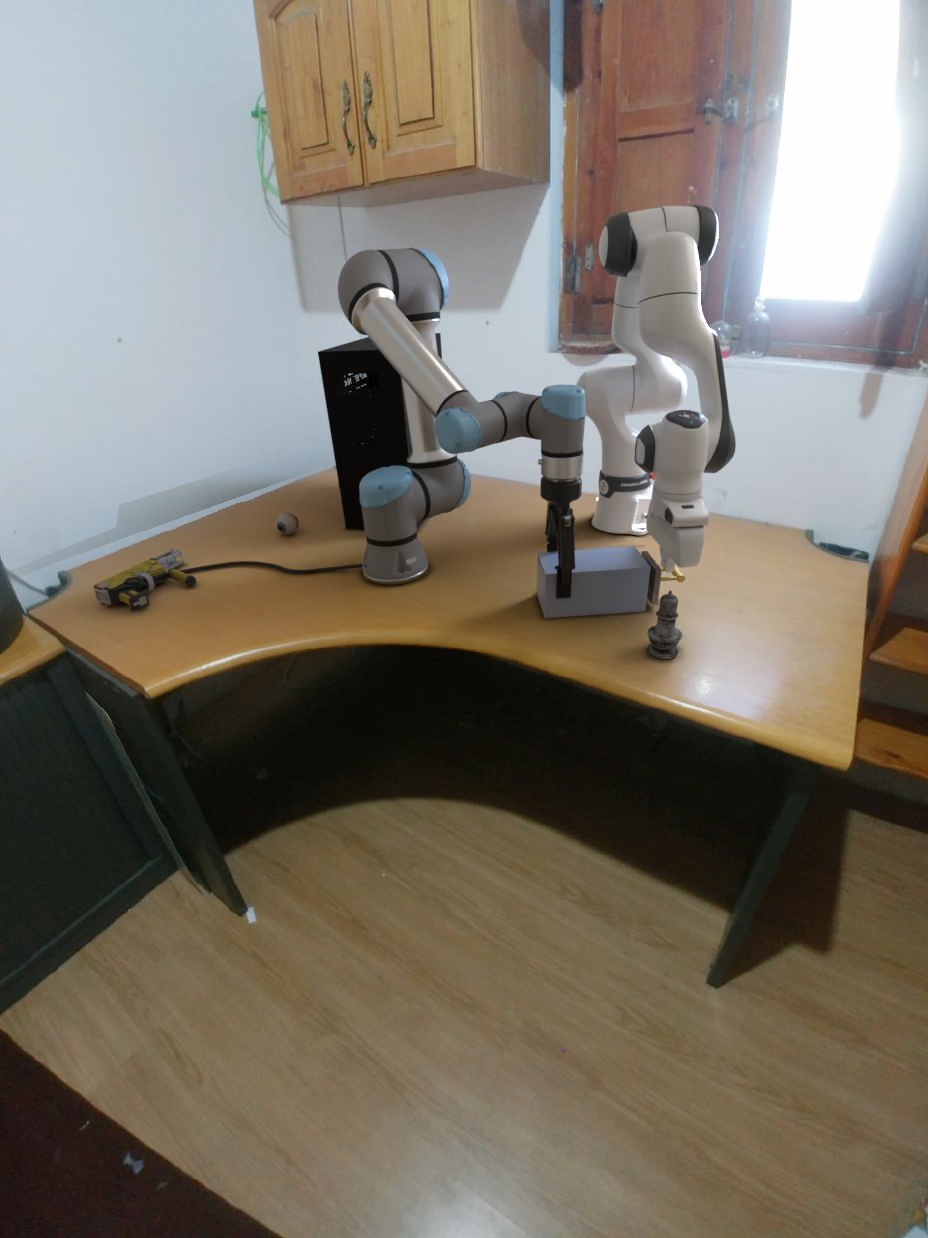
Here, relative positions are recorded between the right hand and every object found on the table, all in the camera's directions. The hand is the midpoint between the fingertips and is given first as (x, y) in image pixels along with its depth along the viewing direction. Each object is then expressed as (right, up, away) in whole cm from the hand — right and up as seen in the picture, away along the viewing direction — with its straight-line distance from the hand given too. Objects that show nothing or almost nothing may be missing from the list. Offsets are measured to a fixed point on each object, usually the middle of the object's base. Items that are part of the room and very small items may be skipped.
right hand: (667, 569), depth 120 cm
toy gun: (-111, -3, +20) cm, 112 cm away
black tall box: (-59, +24, +60) cm, 87 cm away
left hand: (-22, -3, +1) cm, 22 cm away
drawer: (-9, -5, +3) cm, 11 cm away
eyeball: (-88, +13, +45) cm, 100 cm away
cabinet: (-15, -7, +3) cm, 17 cm away
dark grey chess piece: (-5, -16, -13) cm, 21 cm away
